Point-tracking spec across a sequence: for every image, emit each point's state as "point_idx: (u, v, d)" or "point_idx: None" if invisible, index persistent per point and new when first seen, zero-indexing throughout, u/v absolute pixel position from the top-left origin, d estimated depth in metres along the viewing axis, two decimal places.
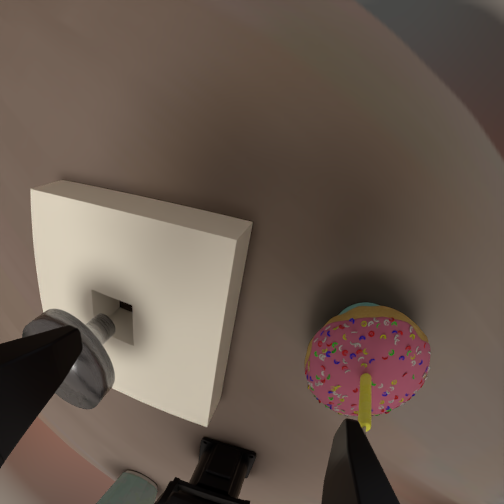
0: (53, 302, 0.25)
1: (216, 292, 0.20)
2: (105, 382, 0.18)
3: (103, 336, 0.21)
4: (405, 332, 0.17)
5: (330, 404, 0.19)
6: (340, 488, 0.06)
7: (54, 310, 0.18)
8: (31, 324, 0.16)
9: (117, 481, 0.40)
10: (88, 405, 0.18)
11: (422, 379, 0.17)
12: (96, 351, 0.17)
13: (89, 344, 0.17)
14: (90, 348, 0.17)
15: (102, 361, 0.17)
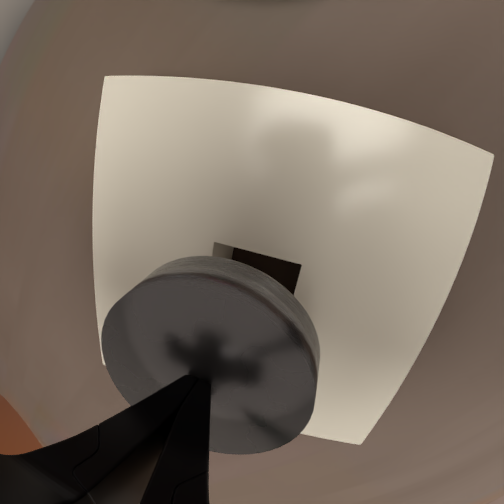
0: None
1: (166, 93, 0.13)
2: (219, 275, 0.09)
3: None
4: None
5: None
6: None
7: None
8: (118, 388, 0.10)
9: None
10: (289, 356, 0.08)
11: None
12: (157, 271, 0.10)
13: (142, 280, 0.10)
14: (144, 279, 0.09)
15: (176, 265, 0.09)
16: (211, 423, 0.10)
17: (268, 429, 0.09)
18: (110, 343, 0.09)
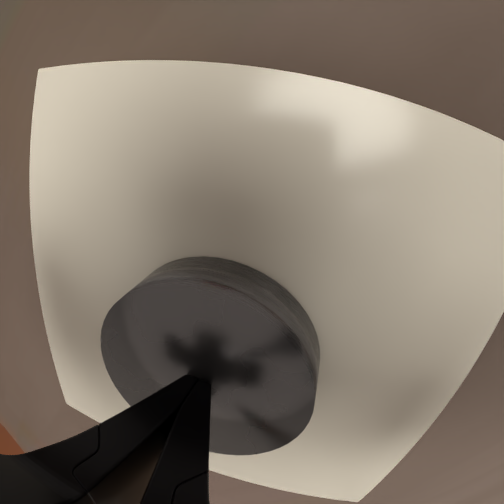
0: (227, 459, 0.14)
1: (103, 83, 0.09)
2: (218, 275, 0.09)
3: None
4: None
5: None
6: None
7: None
8: (118, 388, 0.10)
9: None
10: (288, 357, 0.08)
11: None
12: (156, 271, 0.10)
13: None
14: (143, 279, 0.09)
15: (176, 266, 0.09)
16: (211, 424, 0.10)
17: (268, 430, 0.09)
18: (109, 343, 0.09)
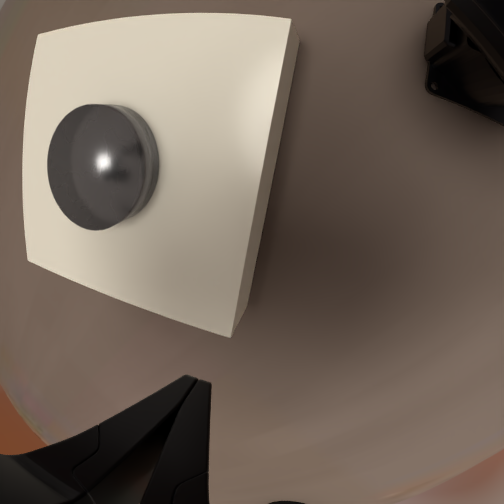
0: (122, 276, 0.20)
1: (68, 36, 0.15)
2: (102, 104, 0.15)
3: None
4: None
5: None
6: None
7: None
8: (52, 190, 0.16)
9: None
10: (123, 129, 0.14)
11: None
12: None
13: None
14: None
15: None
16: (93, 198, 0.16)
17: (120, 192, 0.15)
18: (51, 155, 0.16)
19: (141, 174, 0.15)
